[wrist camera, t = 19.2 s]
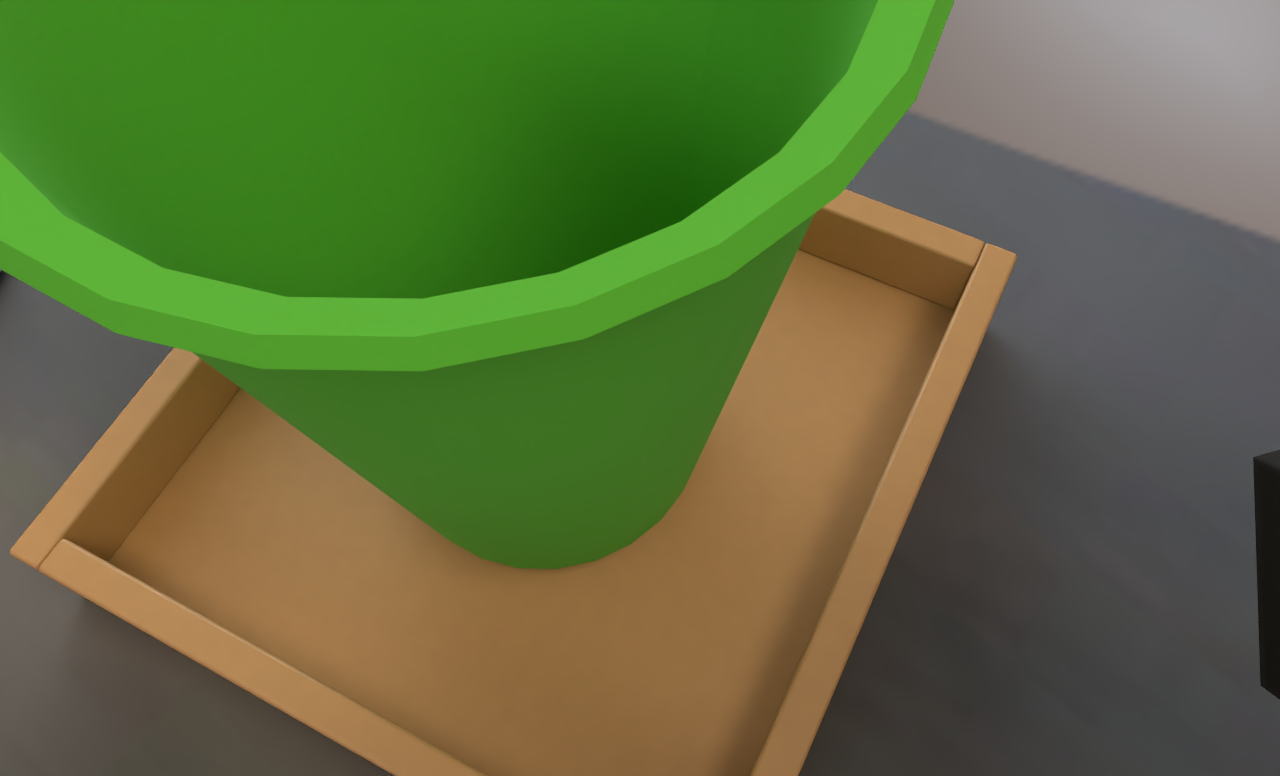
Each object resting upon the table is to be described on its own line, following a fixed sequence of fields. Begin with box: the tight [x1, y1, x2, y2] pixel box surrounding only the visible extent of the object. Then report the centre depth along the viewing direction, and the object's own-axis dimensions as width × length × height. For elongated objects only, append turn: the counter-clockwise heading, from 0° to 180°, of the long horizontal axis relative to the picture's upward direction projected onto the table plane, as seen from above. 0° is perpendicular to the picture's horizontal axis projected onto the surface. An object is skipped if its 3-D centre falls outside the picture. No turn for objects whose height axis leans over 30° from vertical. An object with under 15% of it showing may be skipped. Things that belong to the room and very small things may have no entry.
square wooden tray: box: [10, 189, 1017, 776], centre depth 18 cm, size 12×12×2 cm
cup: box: [0, 0, 954, 569], centre depth 14 cm, size 9×9×11 cm
